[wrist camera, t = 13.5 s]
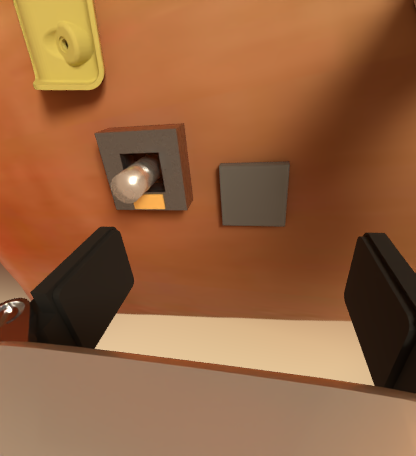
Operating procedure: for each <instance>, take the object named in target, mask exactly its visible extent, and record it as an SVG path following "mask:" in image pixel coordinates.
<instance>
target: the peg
mask: <svg viewBox="0 0 416 456" xmlns="http://www.w3.org/2000/svg"><path fill="white" fill-rule="evenodd" d="M161 176H162V169H161V164H160V158H159V155H157V154H155V153H149V154H146V155H145V156H143V157H142V158H140V159H139V160H138V161H136V162H135V163H133V164H132V165H130V166H129V167H128V168H126V169H125V170H123V171H122V172H120V173H119V174H118V175H116V176H115V177H114V178H113V179H112V181H111V190H112V192H113V194H114V195H115V197H116V198H117V199H118V200H120V201H122V202H124V203H134V202H136V201H137V200H138V199H139V198H140V197H141V196H142V195H143V194H144V193H145V192H146V191H147V190H148V189H149V188H150V187H151V186H152V185H153V184H154V183H155V182H156V181H157V180H158V179H159V178H160V177H161Z"/></svg>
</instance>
